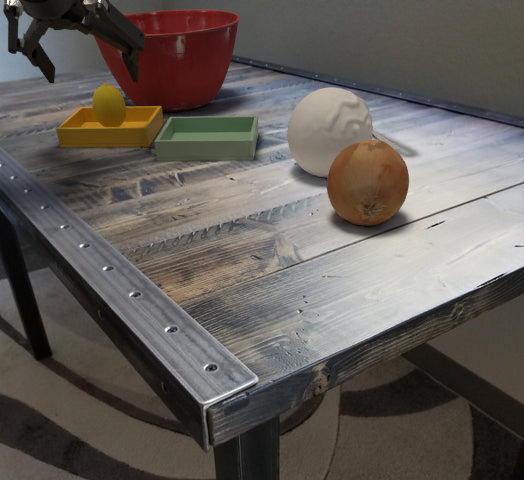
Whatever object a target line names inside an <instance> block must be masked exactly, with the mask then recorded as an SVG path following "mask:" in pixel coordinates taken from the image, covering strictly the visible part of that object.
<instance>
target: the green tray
mask: <svg viewBox="0 0 524 480" xmlns="http://www.w3.org/2000/svg"><path fill="white" fill-rule="evenodd" d="M258 138H259V116H258V115H215V116H214V115H213V116H212V115H211V116H208V115H207V116H205V115H204V116H202V115H201V116H170V117H169V118H168V119H167V121H166V122H165V123H164V125H163V126H162V128H161V129H160V131H159V134H157V137H155V139H154V146H155V155H156V161H157V162H182V161H183V162H191V161H192V162H195V161H196V162H197V161H202V162H203V161H206V162H207V161H210V162H211V161H212V162H213V161H254V160H255V159H254V158H255V154H256V148H257V145H258V144H257V143H258Z"/></svg>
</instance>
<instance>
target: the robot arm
mask: <svg viewBox="0 0 524 480" xmlns="http://www.w3.org/2000/svg"><path fill="white" fill-rule="evenodd" d="M2 10H3V11H2V12H3V14H4V16H5V18H6V19H7V52H8V53H10V54H12V55H17V52H18V53H21V55H22V56H24V57H26V58H27V60H28V61H29V63H30V64H31V65H32V66H33V67H34V68H38V69H39V70H40V72H41V73H42V75H43V76H44V78H45V79H46V80H47V82H48V83H49V84H55V79H56V66H55V65H54V63H53V61H52V60H51V58H50V57H49V56H48V54H47V52H46V51H45V49H44V47H42V45H41V44H40V41H41V39H42V37H43V36H45V35H46V33H47V32H48V29H51V30H53V31H62V30H67V31H78V32H80V33H82V34H84V35H85V36H88V35H91V36H93V37H94V36H95V37H97V38H99V39H100V40H102V41H104V42H106V43H107V44H109V45H111V46H113V47H115V48H116V49H118V50H120V51H122V59H123V61H124V63H125V65H126V67H127V70H128V72H129V74H130V76H131V78H132V81H133V82H138V72H139V66H138V65H139V53H138V52H143V51H144V42H145V34H144V33H143V32H142V31H141V30H140V29H139V28H138V27H137V26H135V25H134V24H133V23H132V22H131V21H130V20H129V19H128V18H126V17H125V16H124V15H125V14H123V13H122V12H121V11H120V10H119V9H117V7H115V6H114V5H113V4H112V3H111V2H110V0H3V9H2ZM23 13H25V14H26V15H27V16H29V17H30V18H32V21H31V22H30V24H29V26H28V28H27V29H26V31H25V32H24V33H23V35H22V38H20V37H19V23H20V22H19V20H20V17H22V16H23ZM95 37H94V38H95Z"/></svg>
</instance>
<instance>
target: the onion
mask: <svg viewBox="0 0 524 480" xmlns="http://www.w3.org/2000/svg"><path fill="white" fill-rule="evenodd" d="M409 173H410V172H409V169H408V165H407V163H406V161H405V159H404V158H403V157H402V155H401V154H400V153H399V152H398V151H397V149H394V148H392V147H391V146H390V145H389V144H387V143H386V142H384V141H380V140H379V139H372V140H365V141H361V142H358V143H355V144H352V145H350V146H348V147H346V148H345V149H343V150H342V151H341V152H340V153H339V154H338V155H337V156H336V158H335V159H334V161H333V163H332V165H331V167H330V170H329V174H328V178H326V192H327V195H328V200H329V203H330V205H331V207H332V208H333V210H334V211H335V212H336V213H337V215H338V216H339V217H341V218H342V219H344V220H345V221H347V222H349V223H351V224H353V225H359V226H367V227H368V226H369V227H370V226H377V225H380V224H382V223H384V222H386V221H387V220H389V219H391V218H392V217H393V216H395V215H396V214H397V213H398V212H399V211H400V209H402V207H403V205H404V203H405V202H406V199H407V196H408V192H409V188H410V174H409Z"/></svg>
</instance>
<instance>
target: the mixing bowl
mask: <svg viewBox="0 0 524 480" xmlns="http://www.w3.org/2000/svg"><path fill="white" fill-rule="evenodd" d="M123 15H124V16H125V17H126V18H128V19H129V20H130V21H131V22H132V23H133V24H134V25H135V26H137V27H138V28H139V29H140V30H141V31H142V32H143V33H144V34H145V42H144V51H143V52H138V53H139V65H138V66H139V72H138V82H133V81H132V78H131V76H130V74H129V72H128V70H127V67H126V65H125V63H124V61H123V59H122V51H120V50H118V49H116V48H115V47H113V46H111V45H109V44H107V43H106V42H104V41H102V40H100V39H99V38H97V37H95V36H93V37H94V41H95V42H96V45H97V47H98V49H99V52H100V54H101V56H102V59H103V60H104V62H105V65H106V66H107V68H108V70H109V72H110V73H111V75H112V76H113V78H114V80H115V82H116V83H117V85H118V87H120V89H121V91H122V92H123V93H124V94H125V96H126V97H127V99H128V100H130V101H131V102H132V103H133V104H134V105H136V106H162V113H172V112H173V113H175V112H176V113H177V112H185V111H190V110H191V111H192V110H195V109H199V108H202V107H204V106H206V105H207V104H209V103H210V102H211V101H212V100H213V99H215V98H216V96H218V94H219V93H220V91H221V89H222V87H223V84H224V82H225V80H226V77H227V74H228V71H229V68H230V65H231V61H232V58H233V53H234V49H235V45H236V39H237V32H238V26H239V23H240V20H241V16H240V15H239V14H237V13H236V12H232V11H227V10H221V9H206V8H205V9H204V8H203V9H201V8H199V9H197V8H196V9H195V8H193V9H191V8H190V9H169V10H167V9H166V10H155V11H146V12H138V13H128V14H123Z"/></svg>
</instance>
